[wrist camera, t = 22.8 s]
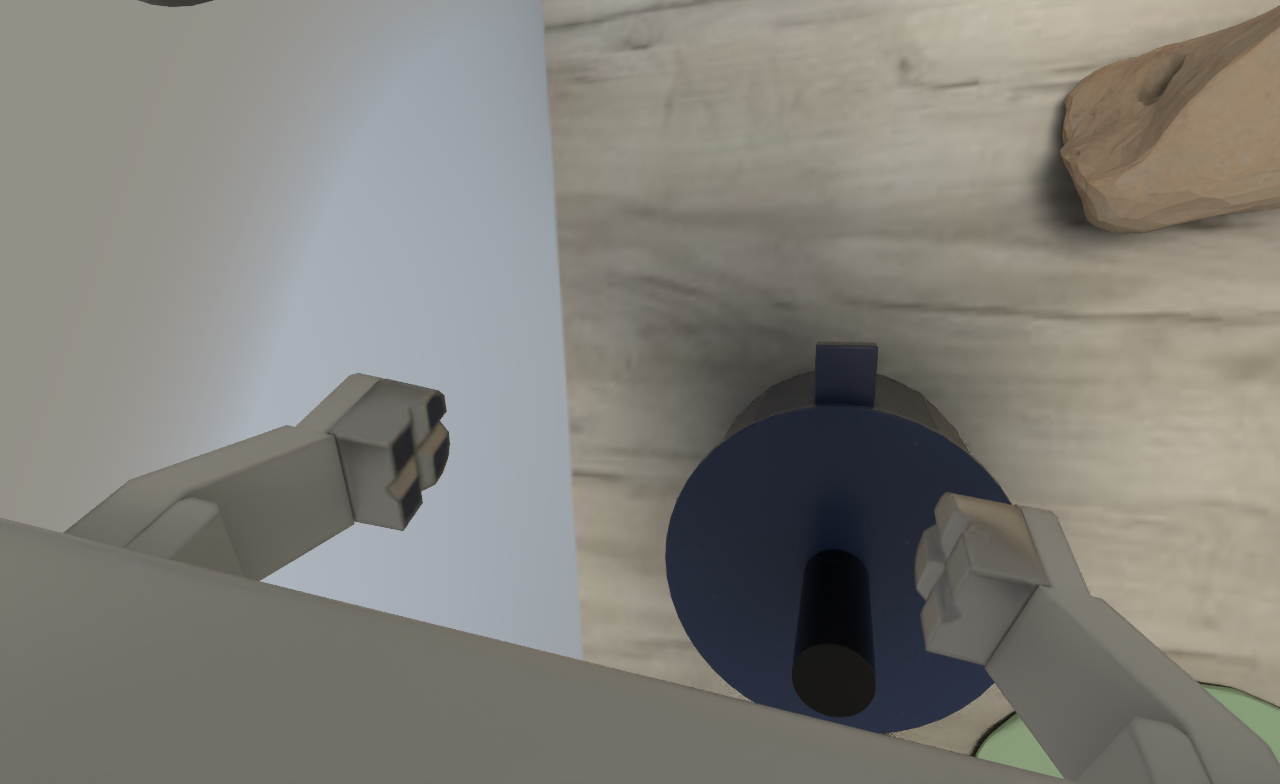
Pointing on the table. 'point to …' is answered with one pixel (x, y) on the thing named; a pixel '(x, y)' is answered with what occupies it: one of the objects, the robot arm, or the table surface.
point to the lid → (822, 564)
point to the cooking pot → (846, 389)
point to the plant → (1026, 753)
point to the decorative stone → (1179, 131)
